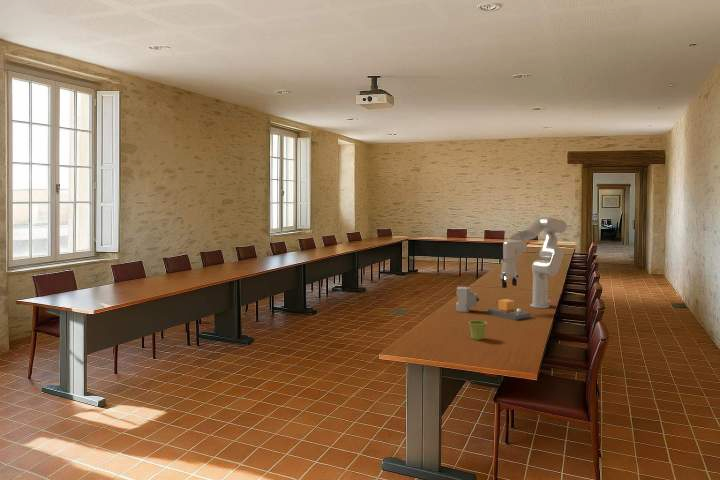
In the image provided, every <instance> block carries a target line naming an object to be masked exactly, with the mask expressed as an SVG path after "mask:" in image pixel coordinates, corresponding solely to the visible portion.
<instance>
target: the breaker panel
mask: <svg viewBox="0 0 720 480" xmlns="http://www.w3.org/2000/svg"><path fill="white" fill-rule="evenodd" d="M487 314H488V315H492V316H497V317H500V318H505V319H508V320H512V321H521V320H525V319H530V318H531V317H532V316H531V315H532V314H531V312H529V311H524V310H521V313H517V308H514V310H507V311H506V310H502V309H498V306H497V307H493V308H492V307H491V308H488V309H487Z"/></svg>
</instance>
